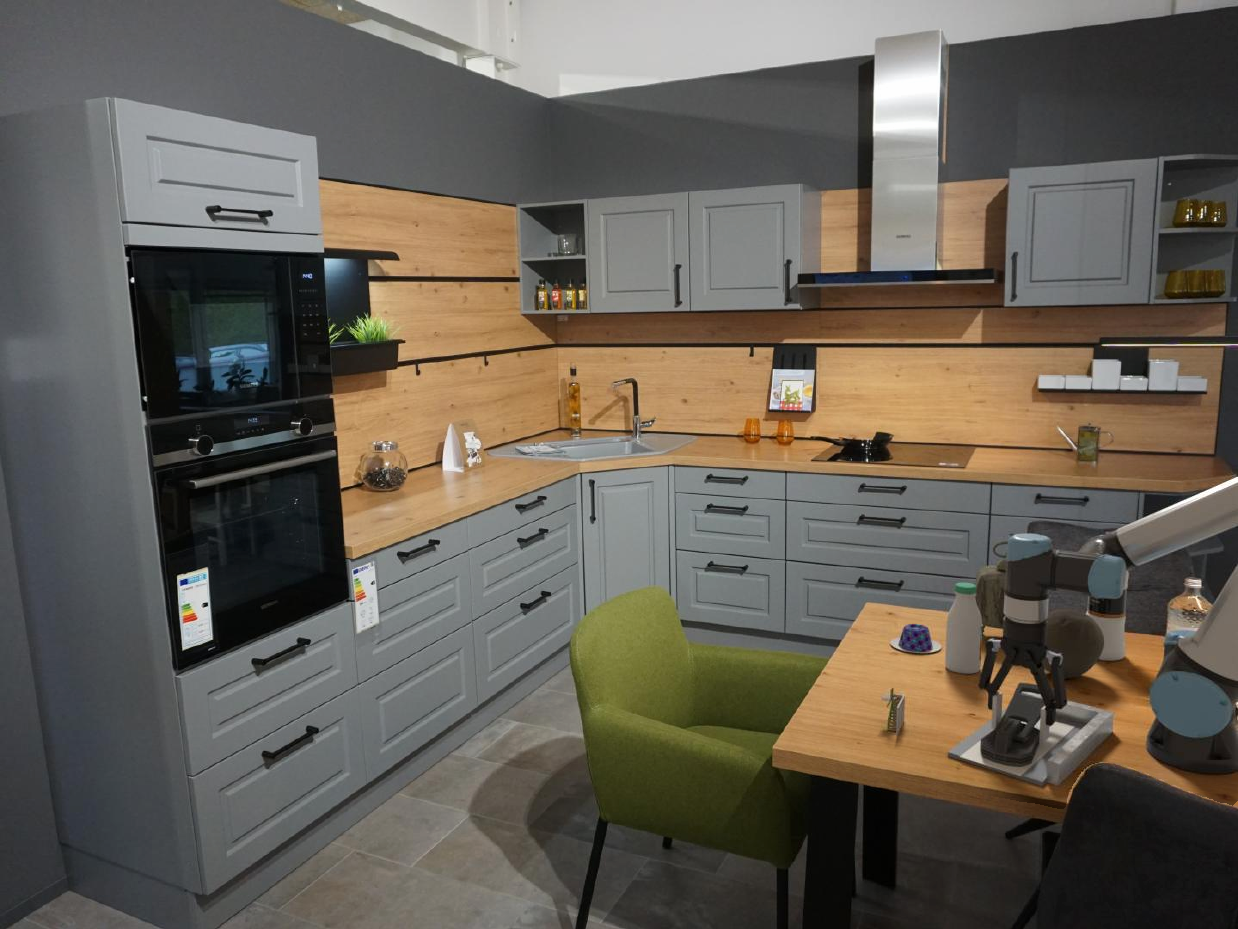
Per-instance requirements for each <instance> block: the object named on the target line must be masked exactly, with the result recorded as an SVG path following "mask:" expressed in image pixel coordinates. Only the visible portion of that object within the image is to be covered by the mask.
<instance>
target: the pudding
mask: <svg viewBox="0 0 1238 929" xmlns="http://www.w3.org/2000/svg"><path fill="white" fill-rule="evenodd" d="M900 634H901V635H900V637H895V638H893V639H891V641H890V646H892V647H893V648H895V649H897V650H900V651H903V652H907V653H914V654H928V653H929V654H930V653H934V652H937V651H940V650H941V649H942V645H941V643H940V642H938V641H936V640H934V639H932V638H931V633H930V629H929V627H928V626H926V625H924V624H917V623H912V624H911V623H909V624H906V625H904V626H903V628H902V631H901V633H900Z"/></svg>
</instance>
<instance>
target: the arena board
mask: <svg viewBox="0 0 1238 929" xmlns="http://www.w3.org/2000/svg"><path fill="white" fill-rule="evenodd" d="M1006 709H1007V707H1006V708H1004V709H1002V717H1003V715H1004V714H1005V711H1006ZM1021 723H1023V724H1027V723H1026V722H1021ZM1084 726H1085V724H1081V723H1077V722H1074V721H1070V720H1066V719H1063V718H1059V717H1055V723H1054V724H1053V725H1052V726H1050V727H1049V739H1048V740H1047V741H1046V742H1044V743H1041V742H1040V744H1039V746H1038V748H1037V751H1036V753H1035V756H1034V758H1033V760H1032V763H1030V764H1028V765H1025V766H1022V767H1017V766H1009V765H1004V764H1000V763H996V762H993V761H991V760H988V759H986V758H984V757H982V756H981V751H980V743H981V739H982V738H983V737H985V736H986V735H987V734H989V733H990V732H991V731H993V730H994V729H992V718H991V719H990V720H988V721H987V722H985V723H984V724H983V725H982V726H980V727H979V728H977V730H975V731H974V732H972V733H971V734H970V735H969V736H967V737H965V739H962V741H960V742H959V743H957V745H955V746H954V747H952V748H951V749H950V750H948V751H947V757H950V758H952V759H956V760H959V761H963V762H965V763H969V764H972V765H975V766H977V767H981V768H984V769H988V770H990V771H992V772H993V771H994V772H997V773H999V774H1003V775H1006V776H1009V777H1011V778H1012V777H1013V778H1015V779H1018V780H1021V781H1025V782H1027V783H1031V784H1034V785H1038V786H1040V787H1043V786H1044V785H1045V784H1046V783H1047V782H1046V778H1047V760H1049V759H1050V758H1051V757H1052V756H1053V755H1054V754H1055V753H1056V752H1057V751H1058V750H1059V749H1060V748H1062V747H1063V746H1064V745H1065V744H1066V743H1067V742H1068V741H1069V740H1070V739H1071V738H1072V737H1073V736H1075V735H1076V734H1077V733H1078V732H1079V731H1080V730H1081V729H1082V728H1083V727H1084ZM1034 727H1035V728H1037V729H1039V730H1040V720H1039V721H1038V722H1037V724H1036V725H1035V726H1034Z"/></svg>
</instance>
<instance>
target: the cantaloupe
mask: <svg viewBox="0 0 1238 929" xmlns="http://www.w3.org/2000/svg"><path fill="white" fill-rule="evenodd" d="M1045 620H1046V621H1047V640H1046V645H1047V648H1048V650H1049V651H1051V652H1054V653H1056V654H1058V653H1062V654H1063V655H1064V660H1063V664H1062V668H1063V675H1064V680H1065V679H1072V678H1077V677H1080V676H1082V675H1084V674H1086V673H1087V672H1089V670H1091V669H1092V668H1093V667H1094V666H1095V665H1096V663H1097V662H1098V661H1099V660H1098V659H1099V657H1100V656H1101V653H1102V651H1103V648H1104V636H1103V633H1102V630H1101V628H1100V627H1099V625H1098V624H1097V623H1096V622H1095V621H1094V620H1093V619H1092V618H1091V617H1090V616H1089V615H1087V614H1086V613H1084V612H1082V611H1077V610H1074V609H1066V608H1061V609H1059V608H1058V609H1055V610H1052V611H1050V612H1048V617H1047V618H1046V619H1045ZM1042 662H1043V665H1044V671H1045V672H1046V671H1047V673H1050V674H1051V664H1049V661H1048V658H1047V657H1045V658H1044V659H1043V660H1042Z"/></svg>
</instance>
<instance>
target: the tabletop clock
mask: <svg viewBox="0 0 1238 929" xmlns="http://www.w3.org/2000/svg"><path fill="white" fill-rule="evenodd" d="M1002 545H1008V540H1007V541H1005V540H1004V541H1000V542H997V543H996V544H995V545H994V546H993V549H992V552H993V554H994V555H996V556H997V557H999V558H1001V559H1000V560H999V561H997V563H996V565H985V566H982V567H979V569H978V571H977V573H976V577H975V580H974V581H975V582H974V585H976V587H977V591H976V596H975V600H976V604H977V607H978V609H979V611H980V614H981V618H982V634H983V633H985V628H986V627H988V628H992V629H993V628H994V629H999V630H1001V629H1002V630H1003V618H1004V617H1005V616H1006V615H1005V614H1004V597H1005V577H1006V561H1005V558H1006V555H1007V552H1006V553H1005V555H1004V554H1000V553H997V552H996V548H997V547H999V546H1002ZM1002 638H1003V635H1002V636H1001V639H1002Z"/></svg>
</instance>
